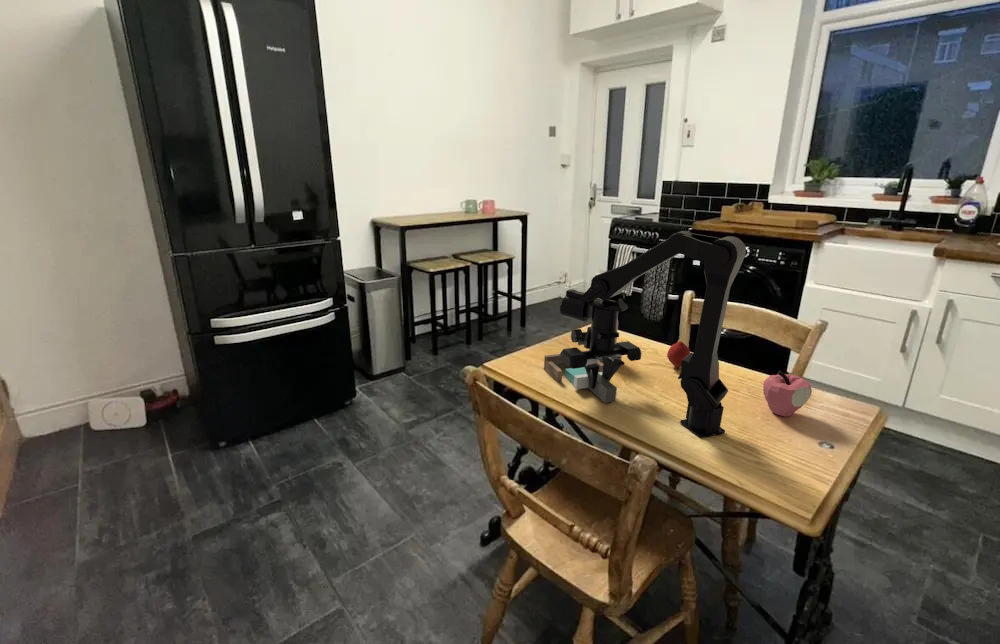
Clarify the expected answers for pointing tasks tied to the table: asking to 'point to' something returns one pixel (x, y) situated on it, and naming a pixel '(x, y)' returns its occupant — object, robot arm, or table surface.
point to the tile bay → (560, 366)
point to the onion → (677, 353)
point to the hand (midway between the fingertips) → (597, 387)
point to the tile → (574, 373)
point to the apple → (786, 393)
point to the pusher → (597, 387)
